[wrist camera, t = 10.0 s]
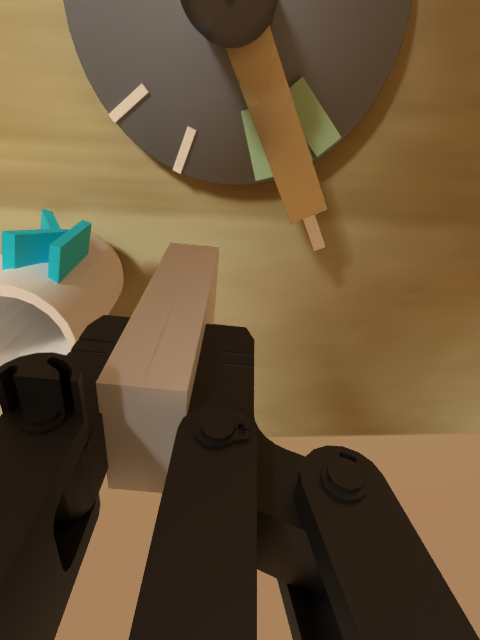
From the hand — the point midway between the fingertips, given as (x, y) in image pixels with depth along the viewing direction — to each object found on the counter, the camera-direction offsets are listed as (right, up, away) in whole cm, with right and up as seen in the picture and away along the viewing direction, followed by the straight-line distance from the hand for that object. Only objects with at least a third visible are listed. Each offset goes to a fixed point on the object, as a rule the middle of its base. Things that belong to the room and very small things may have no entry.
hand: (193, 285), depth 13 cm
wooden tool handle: (+4, +12, +13) cm, 18 cm away
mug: (-13, +5, +20) cm, 24 cm away
